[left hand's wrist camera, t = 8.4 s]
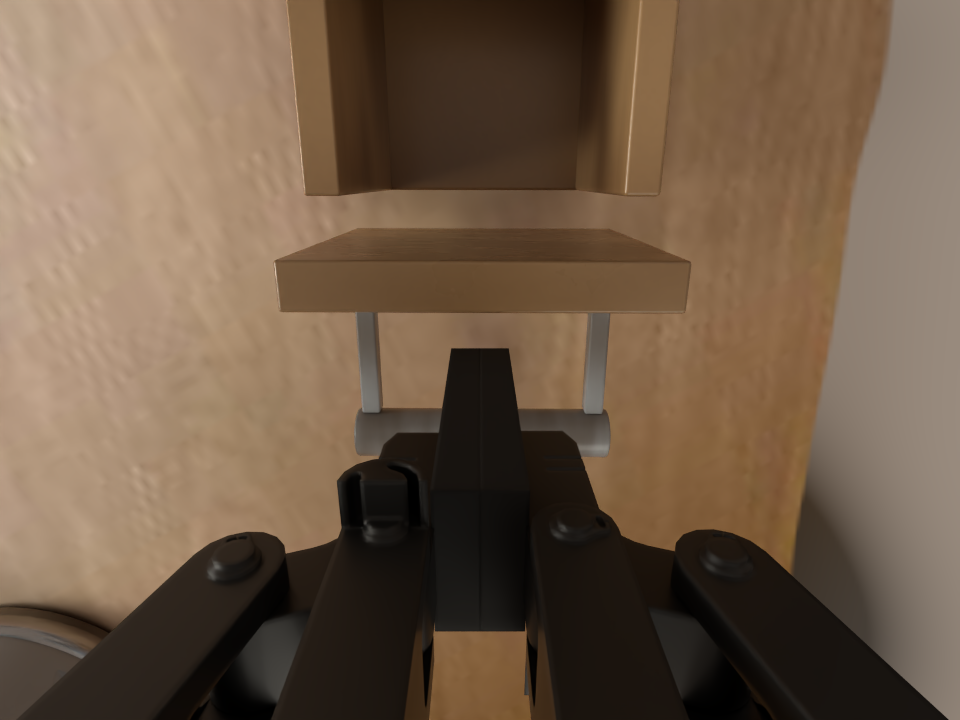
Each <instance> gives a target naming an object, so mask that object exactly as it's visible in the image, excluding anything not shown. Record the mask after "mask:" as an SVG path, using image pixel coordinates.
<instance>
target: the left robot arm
mask: <svg viewBox="0 0 960 720" xmlns="http://www.w3.org/2000/svg"><path fill="white" fill-rule="evenodd" d="M337 487H338V497H339V506H340V516H341V526H342V529H341V532H340V534H339V537H338V539H335V540H333V541H331V542H329V543H327V544H324V545H321V546H317V547H314V548H310V549H305V550H301V551H296V552H292V553H287V554H286V553H285V547H284V545H283V543H282V542H281V541H280V540H279V539H278V538H277V537H275V536H273V535H270V534H267V533H264V532H244V533H239V534H234V535H229V536H226V537H224V538H222V539H219V540H217V541H215V542H212V543H210V544H209V545H207V546H206V547H204V548H203V549H201V550H200V551H199V552H197V553H196V554H195V555H193V556H192V557H191V558H190V559H189V560H188V561H187V562H186V563H185V564H184V565H183V566H182V567H180V568H179V569H178V570H177V571H176V572H175V573H174V574H173V575H172V576H171V577H170V578H169V579H168V580H166V581H165V582H164V583H163V584H162V585H161V586H160V587H159V588H158V589H157V590H156V591H155V592H153V593H152V594H151V595H150V596H149V597H148V598H147V599H146V600H145V601H144V602H143V603H142V604H141V605H139V606H138V607H137V608H136V609H135V610H134V611H133V612H132V613H131V614H130V615H129V616H128V617H127V618H125V619H124V620H123V621H122V622H121V623H120V624H119V625H118V626H117V627H116V628H115V629H114V630H112V631H111V632H110V633H108V632H106V631H104V630H102V629H100V628H98V627H96V626H93V625H91V624H88V623H86V622H84V621H81V620H78V619H75V618H72V617H69V616H65V615H61V614H58V613H54V612H49V611H44V610H38V609H30V608H18V607H0V720H429V713H430V701H431V690H432V679H433V667H434V642H433V633H434V622H435V631H525V620H526V630H527V642H526V668H525V694H524V695H529V701H530V712H531V720H948V719H947V718H946V717H945V716H944V715H943V714H942V713H941V712H940V711H938V710H937V709H936V708H935V707H934V706H933V705H932V704H931V703H930V702H929V701H928V700H926V699H925V698H924V697H923V696H922V695H921V694H920V693H919V692H918V691H917V690H916V689H915V688H913V687H912V686H911V685H910V684H909V683H908V682H907V681H906V680H905V679H904V678H903V677H902V676H900V675H899V674H898V673H897V672H896V671H895V670H894V669H893V668H892V667H891V666H890V665H888V664H887V663H886V662H885V661H884V660H883V659H882V658H881V657H880V656H879V655H878V654H876V653H875V652H874V651H873V650H872V649H871V648H870V647H869V646H868V645H867V644H866V643H865V642H863V641H862V640H861V639H860V638H859V637H858V636H857V635H856V634H855V633H854V632H853V631H851V630H850V629H849V628H848V627H847V626H846V625H845V624H844V623H843V622H842V621H841V620H840V619H838V618H837V617H836V616H835V615H834V614H833V613H832V612H831V611H830V610H829V609H828V608H826V607H825V606H824V605H823V604H822V603H821V602H820V601H819V600H818V599H817V598H816V597H814V596H813V595H812V594H811V593H810V592H809V591H808V590H807V589H806V588H805V587H804V586H803V585H801V584H800V583H799V582H798V581H797V580H796V579H795V578H794V577H793V576H792V575H791V574H789V573H788V572H787V571H786V570H785V569H784V568H783V567H782V566H781V565H780V564H779V563H778V562H776V561H775V560H774V559H773V558H772V557H771V556H770V555H769V554H768V553H767V552H765V551H764V550H763V549H761V548H760V547H758V546H757V545H756V544H754V543H753V542H751V541H749V540H747V539H745V538H742V537H740V536H738V535H735V534H733V533H729V532H724V531H719V530H714V529H712V530H695V531H692V532H689V533H686V534H684V535H683V536H682V537H681V538H680V539H679V540H678V541H677V542H676V547H675V551H670V550H665V549H661V548H656V547H652V546H647V545H644V544H641V543H637V542H634V541H632V540H630V539H627V538H625V537H623V536H621V534H620V531H619V528H618V527H617V525H616V524H615V522H614V521H613V519H612V518H611V517H610V516H608V515H607V514H605V513H604V512H603V511H601V510H600V509H599V507H598V504H597V501H596V498H595V495H594V492H593V490H592V487H591V484H590V481H589V478H588V475H587V472H586V471H585V466H584V463H583V460H582V459H581V454H580V451H579V448H578V445H577V443H576V442H575V441H574V440H573V439H572V438H571V437H569V436H568V435H567V434H566V433H565V432H564V431H521V427H520V420H519V414H518V407H517V401H516V394H515V387H514V381H513V374H512V367H511V361H510V354H509V348H451V354H450V361H449V367H448V374H447V381H446V387H445V394H444V401H443V407H442V414H441V420H440V427H439V433H396V434H395V435H394V436H393V437H392V438H390V439H389V440H388V441H387V442H386V443H385V444H384V445H383V448H382V451H381V454H380V457H379V459H374V460H370V461H366V462H363V463H360V464H357V465H355V466H353V467H352V468H350V469H348V470H347V471H345V472H344V473H343V474H342V475H341V477H340V478H339V479H338V480H337Z"/></svg>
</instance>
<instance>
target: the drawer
mask: <svg viewBox="0 0 960 720" xmlns="http://www.w3.org/2000/svg"><path fill="white" fill-rule="evenodd" d="M286 6H287V17H288V28H289V38H290V49H291V59H292V70H293V81H294V91H295V102H296V112H297V123H298V133H299V144H300V155H301V165H302V176H303V186H304V194H305V195H306V196H340V195H349V194H358V193H367V192H376V191H384V190H581V191H589V192H597V193H605V194H614V195H622V196H658V195H659V194H660V192H661V182H662V171H663V161H664V151H665V141H666V131H667V121H668V111H669V101H670V91H671V81H672V71H673V61H674V51H675V41H676V30H677V20H678V10H679V0H286ZM690 270H691V262H690V261H687V260H685V259H682V258H680V257H677V256H675V255H672V254H670V253H668V252H665V251H663V250H660V249H658V248H655V247H653V246H650V245H648V244H645V243H643V242H640V241H638V240H635V239H633V238H630V237H628V236H626V235H623V234H621V233H618V232H616V231H613V230H611V229H395V228H358V229H355V230H352V231H350V232H347V233H345V234H342V235H339V236H337V237H334V238H332V239H329V240H327V241H324V242H321V243H319V244H316V245H314V246H311V247H308V248H306V249H303V250H301V251H298V252H295V253H293V254H290V255H288V256H285V257H282V258H280V259H277V260H275V261H274V271H275V280H276V288H277V297H278V306H279V310H280V311H281V312H355V314H356V328H357V343H358V357H359V371H360V385H361V399H362V408H360V409H359V410H358V413H357V416H356V420H355V430H354V440H355V448H356V452H357V454H358V455H360V456H380V454H381V451H382V448H383V445H384V444H385V443H386V442H387V441H388V440H389V439H390V438H392V437H393V436H394V435H395V434H396V433H439V427H440V420H441V414H442V408H382V406H383V397H382V380H381V363H380V346H379V329H378V312H400V313H588V322H587V337H586V353H585V368H584V384H583V400H582V407H583V409H518V414H519V420H520V427H521V431H564V432H565V433H566V434H567V435H568V436H569V437H571V438H572V439H573V440H574V441H575V442H576V443H577V445H578V448H579V451H580V454H581V457H606V456H607V455H608V452H609V448H610V422H609V417H608V414H607V411H606V410H604V409H603V401H604V388H605V375H606V362H607V349H608V336H609V323H610V313H681V314H682V313H685V311H686V303H687V295H688V287H689V278H690Z"/></svg>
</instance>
